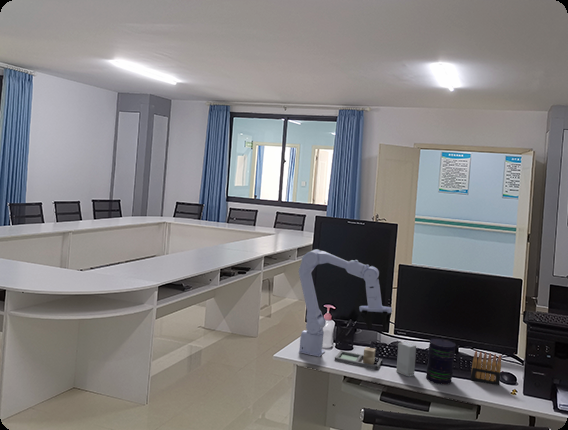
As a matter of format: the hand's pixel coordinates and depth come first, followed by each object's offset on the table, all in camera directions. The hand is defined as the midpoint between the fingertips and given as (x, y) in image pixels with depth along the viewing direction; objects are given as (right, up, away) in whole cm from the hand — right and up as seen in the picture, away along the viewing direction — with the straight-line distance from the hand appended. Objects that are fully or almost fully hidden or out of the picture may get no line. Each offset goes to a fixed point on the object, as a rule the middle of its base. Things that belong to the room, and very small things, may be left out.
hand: (377, 329), depth 213 cm
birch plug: (-3, -15, +2) cm, 15 cm away
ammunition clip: (+41, -19, -8) cm, 46 cm away
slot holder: (-7, -14, +4) cm, 16 cm away
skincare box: (+10, -17, -6) cm, 20 cm away
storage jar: (+22, -18, -9) cm, 30 cm away
